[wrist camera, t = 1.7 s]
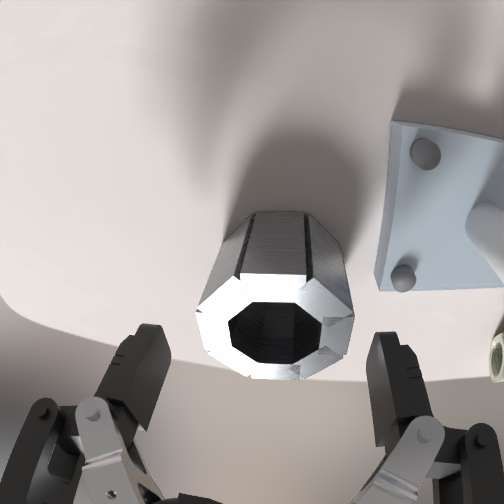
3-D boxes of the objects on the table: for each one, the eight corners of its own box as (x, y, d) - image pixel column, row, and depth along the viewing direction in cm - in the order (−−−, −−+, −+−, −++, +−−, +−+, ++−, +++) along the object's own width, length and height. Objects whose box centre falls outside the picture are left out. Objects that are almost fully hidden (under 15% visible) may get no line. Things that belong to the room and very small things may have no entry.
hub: (343, 212, 14) (362, 275, 10) (333, 308, 17) (340, 379, 13) (217, 212, 15) (186, 272, 11) (229, 306, 18) (211, 374, 14)
